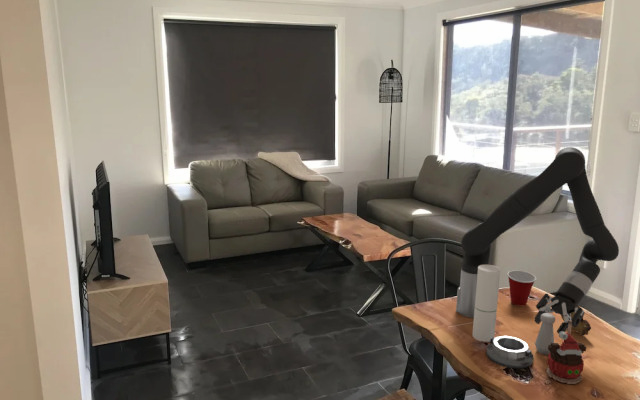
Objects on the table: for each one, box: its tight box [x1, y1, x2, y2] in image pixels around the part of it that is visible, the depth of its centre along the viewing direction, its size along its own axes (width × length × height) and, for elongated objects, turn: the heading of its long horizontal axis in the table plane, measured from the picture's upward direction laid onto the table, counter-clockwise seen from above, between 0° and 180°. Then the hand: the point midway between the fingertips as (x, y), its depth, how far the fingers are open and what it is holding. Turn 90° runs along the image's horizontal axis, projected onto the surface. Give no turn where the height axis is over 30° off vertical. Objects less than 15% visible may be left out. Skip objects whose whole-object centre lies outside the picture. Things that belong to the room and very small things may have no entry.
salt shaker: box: [534, 313, 556, 356], centre depth 164 cm, size 6×6×13 cm
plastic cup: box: [506, 269, 537, 307], centre depth 202 cm, size 11×11×12 cm
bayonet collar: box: [485, 335, 534, 370], centre depth 162 cm, size 14×14×4 cm
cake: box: [546, 320, 587, 385], centre depth 149 cm, size 11×9×18 cm
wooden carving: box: [560, 305, 592, 337], centre depth 181 cm, size 16×5×10 cm, turn 9°
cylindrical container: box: [471, 264, 501, 343], centre depth 173 cm, size 7×7×25 cm
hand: (547, 327), depth 164 cm, fingers open, 8 cm apart
